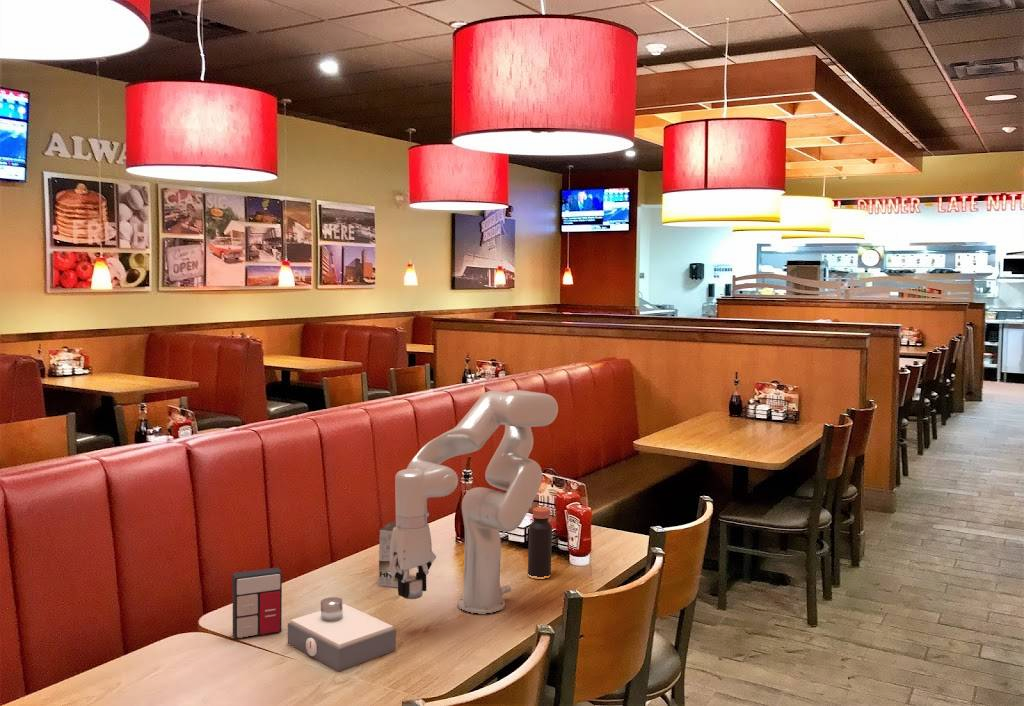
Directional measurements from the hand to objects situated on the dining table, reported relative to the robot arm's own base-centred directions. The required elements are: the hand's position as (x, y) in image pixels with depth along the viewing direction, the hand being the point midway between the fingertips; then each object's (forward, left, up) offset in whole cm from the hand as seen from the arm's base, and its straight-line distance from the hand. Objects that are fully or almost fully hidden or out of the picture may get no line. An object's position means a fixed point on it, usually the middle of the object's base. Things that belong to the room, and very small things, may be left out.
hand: (412, 592), depth 212 cm
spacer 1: (+18, -8, -4) cm, 20 cm away
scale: (+18, -4, -10) cm, 21 cm away
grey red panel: (+28, -24, -10) cm, 38 cm away
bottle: (-53, -5, -10) cm, 54 cm away
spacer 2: (0, 0, -1) cm, 1 cm away
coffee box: (-19, -30, -10) cm, 37 cm away
